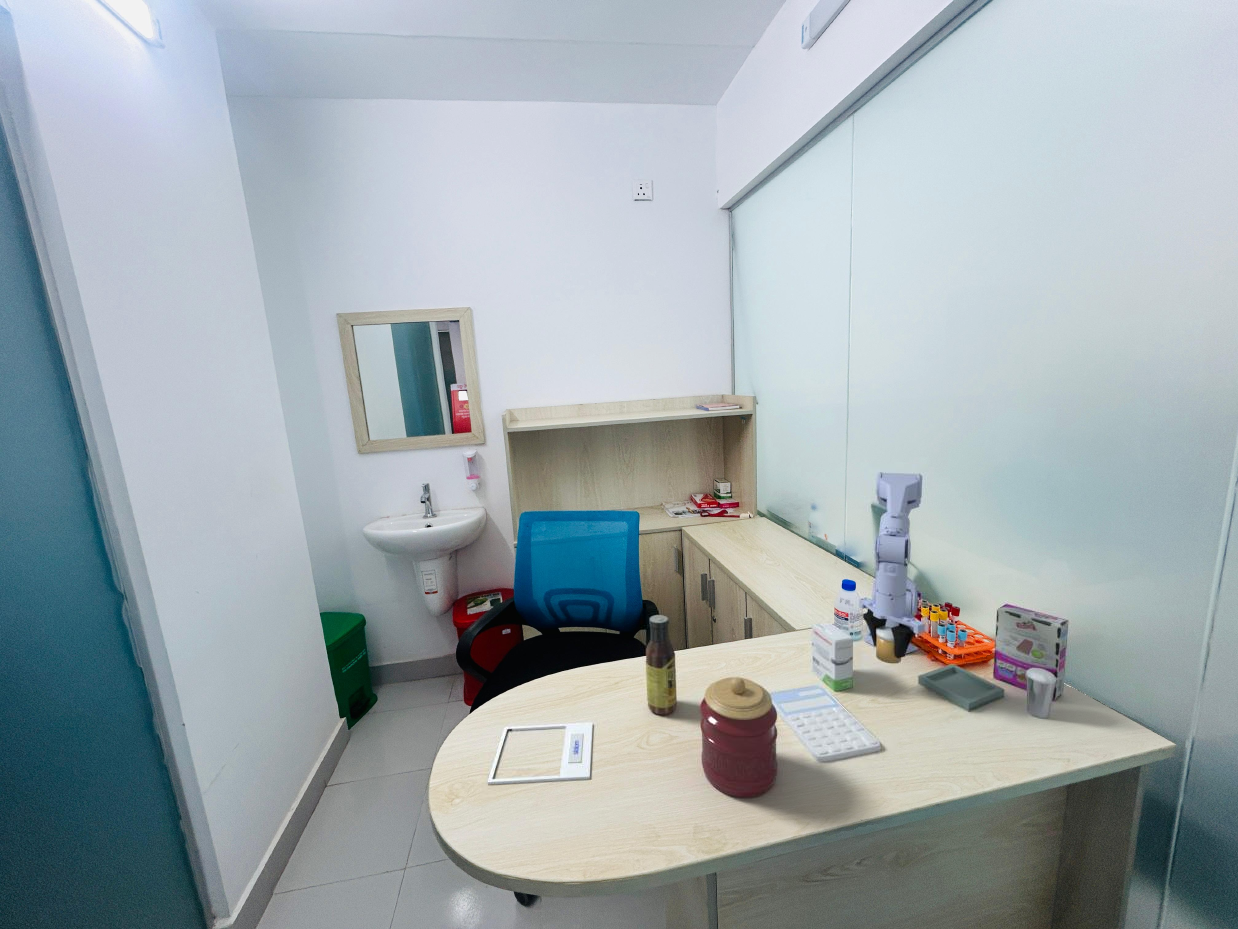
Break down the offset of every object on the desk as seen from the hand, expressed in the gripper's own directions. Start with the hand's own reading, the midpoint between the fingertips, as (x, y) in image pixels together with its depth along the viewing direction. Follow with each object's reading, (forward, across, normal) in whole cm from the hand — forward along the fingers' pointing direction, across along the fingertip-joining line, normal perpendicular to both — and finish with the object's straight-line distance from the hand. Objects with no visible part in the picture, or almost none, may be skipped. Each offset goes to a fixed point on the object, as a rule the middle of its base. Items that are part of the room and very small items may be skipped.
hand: (888, 650), depth 109 cm
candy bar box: (+9, +12, +27) cm, 31 cm away
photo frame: (+10, -14, -74) cm, 75 cm away
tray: (+9, +7, +13) cm, 17 cm away
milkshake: (+9, +19, +19) cm, 28 cm away
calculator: (+10, +2, -21) cm, 23 cm away
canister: (+9, +6, -43) cm, 44 cm away
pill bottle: (+2, 0, 0) cm, 2 cm away
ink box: (+9, -8, -8) cm, 15 cm away
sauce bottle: (+9, -16, -47) cm, 51 cm away
